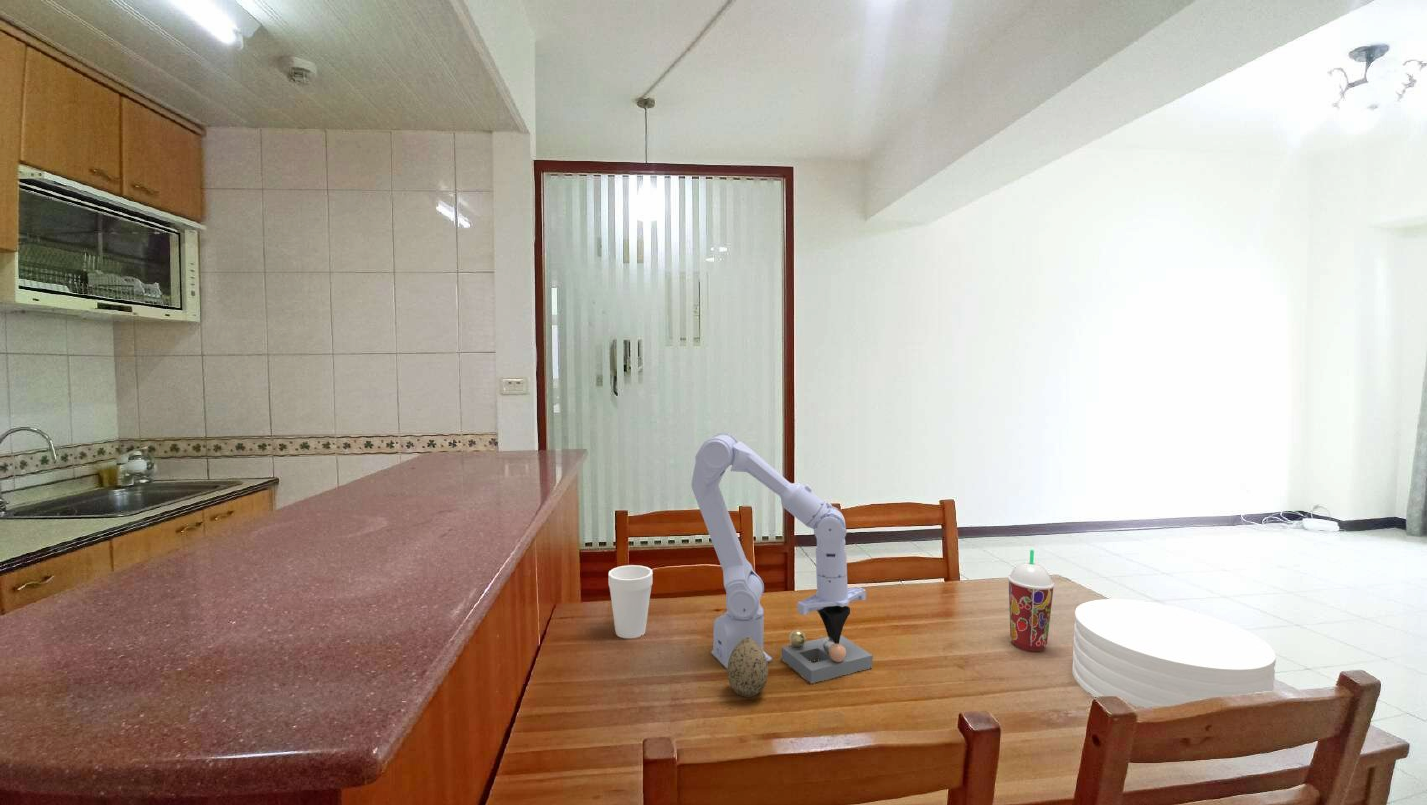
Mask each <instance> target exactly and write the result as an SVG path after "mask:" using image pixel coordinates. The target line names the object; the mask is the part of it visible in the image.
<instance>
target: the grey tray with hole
mask: <svg viewBox="0 0 1427 805" xmlns="http://www.w3.org/2000/svg"><path fill="white" fill-rule="evenodd" d="M826 637H827V636H825V637H821V638H817V639H812V640H808V641H807V640H806V642H805V644H804V645H803V646H801V647H795V646H793V645H792V644H791V645H786V646H782V647H781V657H780V658H781V659H782V660H784V661H785V662H786V663H787V664H788V665H790V666H791V667H792V668H793V669H794V670H796V671H797V672H798V673H799V674H800V675H802V676H803V677H804V678H805V679H806V680H807V681H806V680H805V679H804V678H803V677H802V676H801V677H802V678H803V679H804V680H805V681H806V682H808V681H809V682H810V683H814V684H816V683H815V682H818V681H822V682H825V681H824V680H826V681H828V680H827V679H830V680H832V679H831V678H833V679H836V678H835V677H837V678H839V677H838V676H841V675H845V676H848V675H852V674H855V673H854V672H856V673H858V672H857V671H860V670H864V671H867V670H870V668H871V669H873V657H874V656H873V654H872V653H870V652H868V651H867V650H865V649H864V648H862V647H860V646H858V645H857V644H856V643H854V642H853V641H851V640H850V639H849V638H846V637H845V636H844V635H842V634H841V636H840V641H839V643H840V644H841V645H842V646H844V648H845V650H846V657H845V659H844V660H843V661H841V662H835V661H833V660H832V659H831V658H830V656H829V653H827V652H826V651H825V650H824V648H823V641H824V639H825V638H826ZM782 660H781V661H782ZM814 660H819V661H814ZM784 661H783V662H784ZM810 661H814V662H810ZM785 662H784V663H785ZM786 663H785V664H786ZM787 664H786V665H787ZM788 665H787V666H788ZM790 666H789V667H790ZM791 667H790V668H791ZM792 668H791V669H792ZM793 669H792V670H793ZM794 670H793V671H794ZM796 671H795V672H796ZM797 672H796V673H797ZM860 672H861V671H860ZM798 673H797V674H798ZM851 673H852V674H851ZM799 674H798V675H799ZM847 674H848V675H847ZM800 675H799V676H800ZM841 677H842V676H841ZM809 682H808V683H809ZM810 683H809V684H810ZM818 683H819V682H818Z"/></svg>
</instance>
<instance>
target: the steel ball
mask: <svg viewBox="0 0 1427 805" xmlns="http://www.w3.org/2000/svg"><path fill="white" fill-rule="evenodd" d="M825 637H826V638H825ZM825 637H824V638H825V639H824V641H823V648H824V650H825V651H826V652H827V653H829V648H830V647H831V645H833V644H835V642H834V641H833V639H832V638H831V637H829V636H828V635H827V636H825ZM839 644H840V643H839Z"/></svg>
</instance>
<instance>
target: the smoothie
mask: <svg viewBox="0 0 1427 805" xmlns="http://www.w3.org/2000/svg"><path fill="white" fill-rule="evenodd" d="M1034 554H1035V551H1034V550H1033V549H1030V550H1029V562H1024V563H1020V564H1017V565H1016V567H1014V568H1013V569H1012V571H1011V574H1010V575H1008V577H1007V580H1008V600H1009V601H1008V602H1009V603H1008V604H1009V605H1008V606H1009V608H1008V609H1009V635H1010V636H1009V637H1010V638H1011V639H1012V644H1014V645H1015V647H1018V648H1019V649H1022V650H1025V651H1030V652H1040V651H1043V650H1044V649H1045V646H1046V645H1047V644H1048V640H1049V639H1048V638H1049V629H1050V621H1051V613H1052V612H1051V611H1052V603H1053V596H1054V588H1055V582H1054V581H1053V580H1052V577H1051V575H1050V573H1049V572H1048V571H1047V570H1046V569H1045V568H1044V567H1043V566H1041V565H1039V564H1038V563H1035V562H1034Z"/></svg>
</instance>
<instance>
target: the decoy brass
mask: <svg viewBox="0 0 1427 805" xmlns="http://www.w3.org/2000/svg"><path fill="white" fill-rule="evenodd" d="M788 638H789V643H790V644H791V645H793V646H795V647H801V646H803V645H804V644H805V642H807V638H806V634H805V633H804V632H803V631H802V630H801V629H795V630H792V631H791V632H790V634H789V637H788Z"/></svg>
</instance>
